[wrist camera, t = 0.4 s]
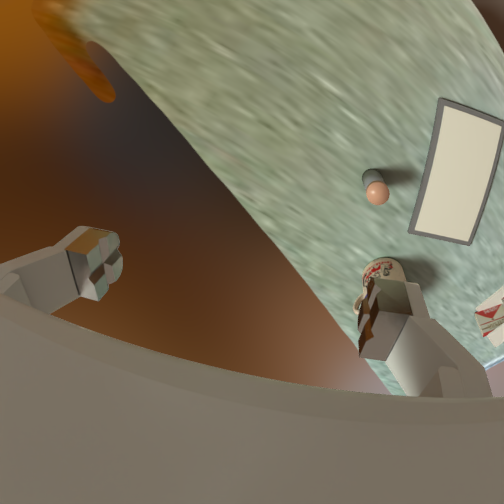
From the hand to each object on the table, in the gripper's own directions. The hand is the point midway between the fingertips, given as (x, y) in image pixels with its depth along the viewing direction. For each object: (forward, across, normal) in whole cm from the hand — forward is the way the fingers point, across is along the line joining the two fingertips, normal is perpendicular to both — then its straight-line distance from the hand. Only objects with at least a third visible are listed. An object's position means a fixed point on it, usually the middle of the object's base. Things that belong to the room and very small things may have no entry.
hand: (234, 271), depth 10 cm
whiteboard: (+45, -28, +5) cm, 53 cm away
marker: (+45, -12, +10) cm, 48 cm away
